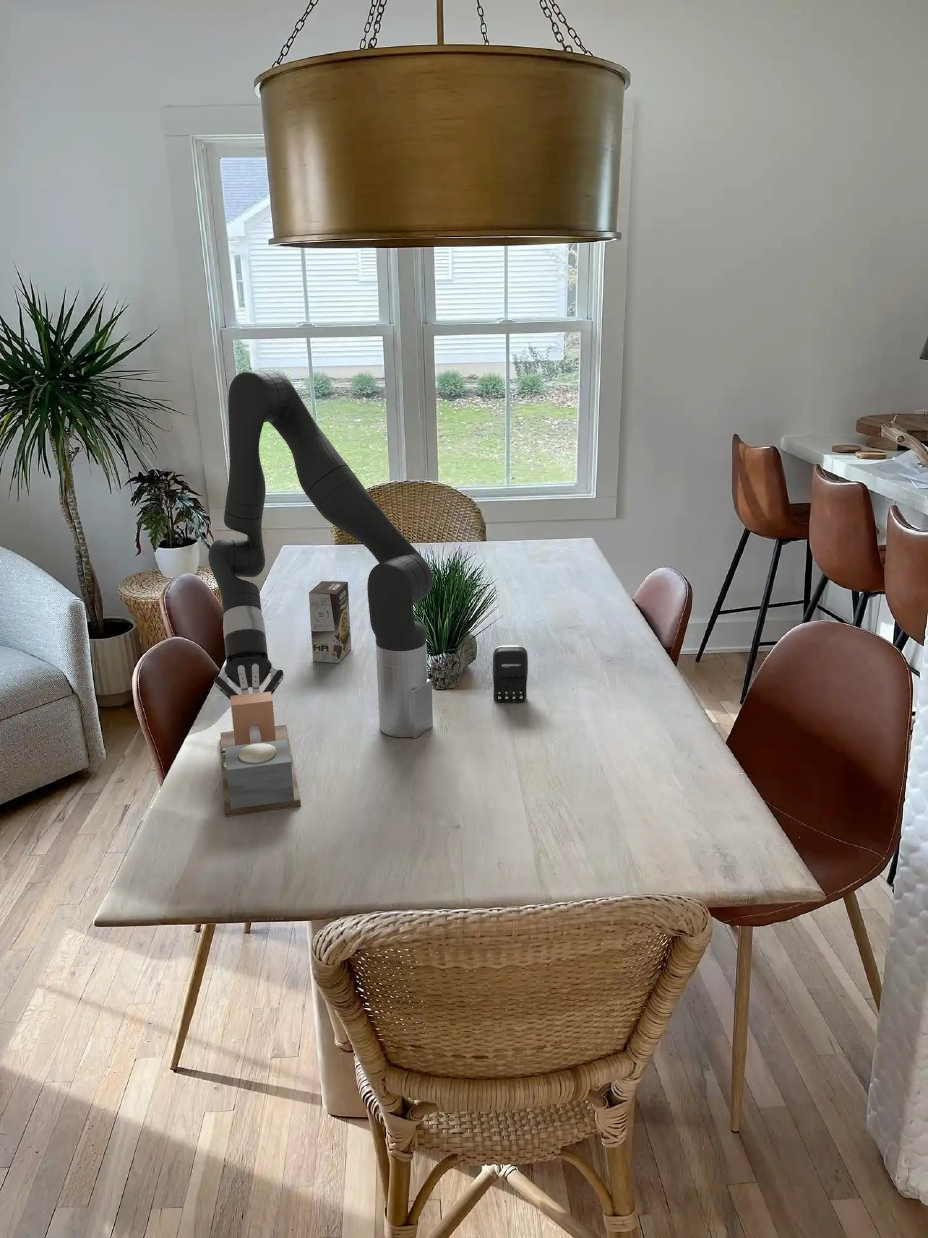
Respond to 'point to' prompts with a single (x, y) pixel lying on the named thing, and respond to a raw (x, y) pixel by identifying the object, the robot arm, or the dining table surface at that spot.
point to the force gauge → (258, 775)
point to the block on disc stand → (253, 718)
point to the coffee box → (330, 621)
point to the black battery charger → (510, 674)
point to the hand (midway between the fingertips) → (253, 723)
